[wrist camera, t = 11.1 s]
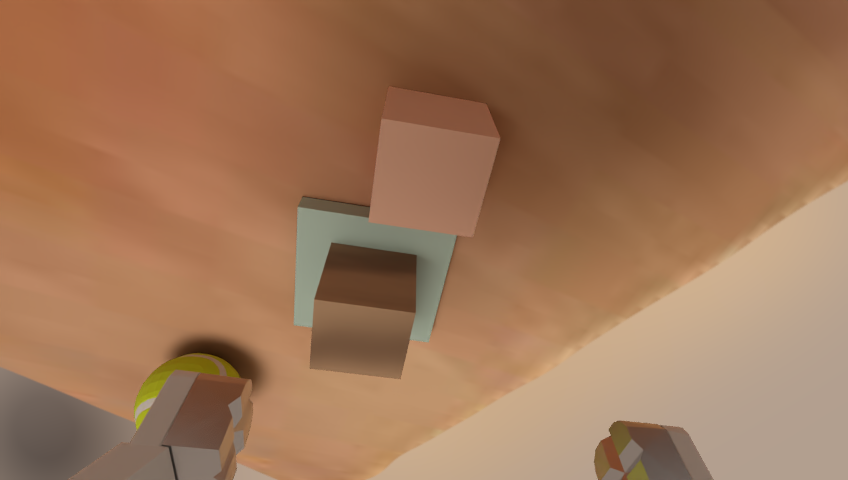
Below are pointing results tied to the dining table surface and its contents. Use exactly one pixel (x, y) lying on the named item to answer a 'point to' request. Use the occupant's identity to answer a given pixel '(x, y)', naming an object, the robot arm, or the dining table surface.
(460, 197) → the terracotta cube
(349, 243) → the board
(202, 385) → the robot arm
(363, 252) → the walnut cube
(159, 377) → the tennis ball
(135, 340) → the dining table surface
